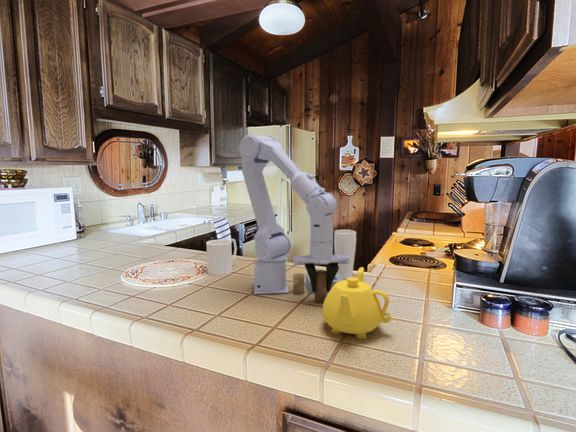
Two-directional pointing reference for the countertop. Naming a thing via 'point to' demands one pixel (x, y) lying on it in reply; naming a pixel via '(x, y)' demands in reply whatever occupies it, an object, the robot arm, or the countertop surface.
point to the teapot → (354, 307)
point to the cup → (220, 256)
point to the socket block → (336, 279)
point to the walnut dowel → (321, 286)
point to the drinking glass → (345, 250)
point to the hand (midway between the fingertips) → (320, 290)
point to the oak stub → (298, 283)
